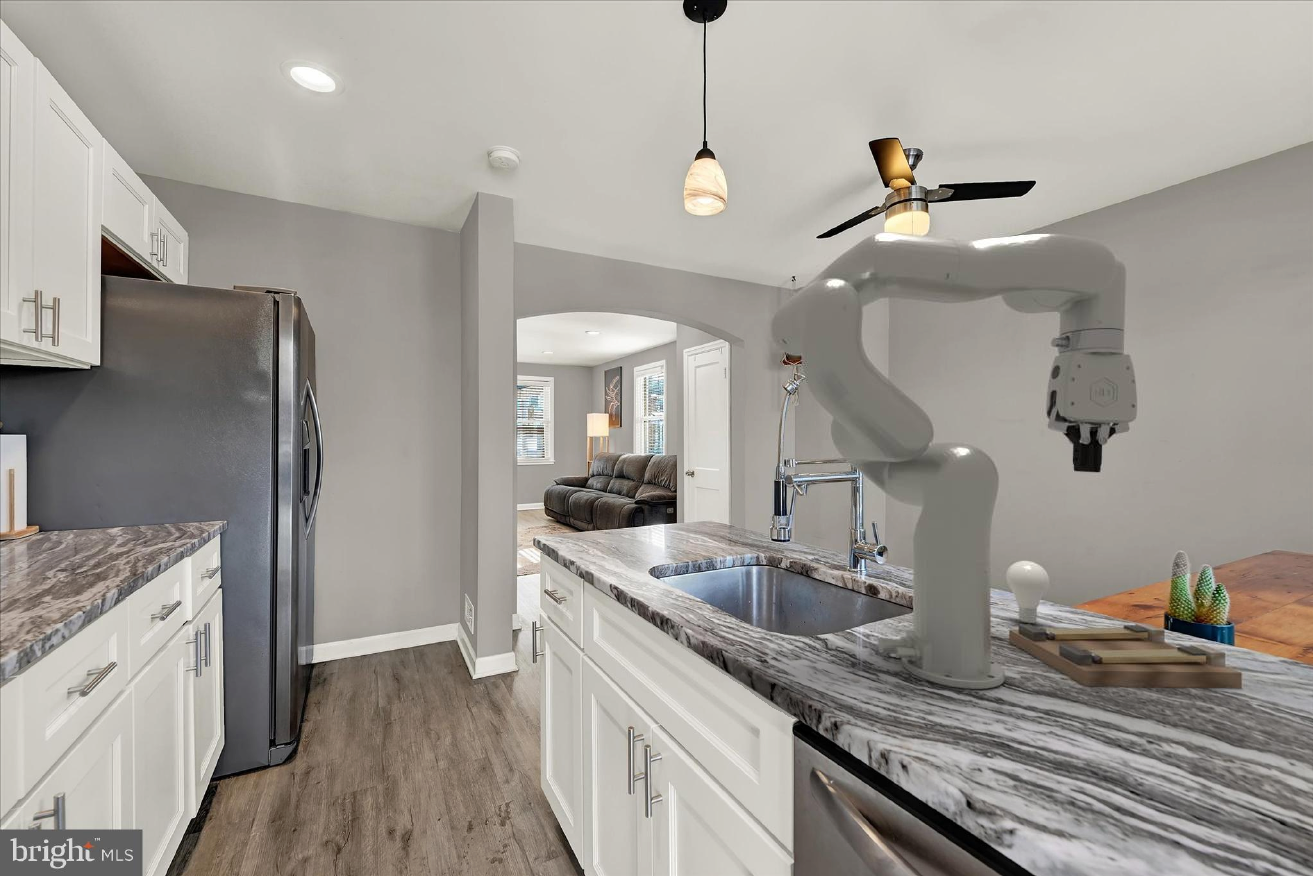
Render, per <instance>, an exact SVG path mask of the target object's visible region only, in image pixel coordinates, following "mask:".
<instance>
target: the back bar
mask: <svg viewBox="0 0 1313 876" xmlns="http://www.w3.org/2000/svg"><path fill="white" fill-rule="evenodd" d="M1038 629H1040V630H1042V631H1044V632H1046V637H1047V638H1049V639H1051V640H1053V639H1055V640H1063V639H1113V638H1148V630H1145V629H1142V628H1140V627H1137V626H1135V624H1132V625H1129V624H1127V625H1125V624H1124V625H1123V627H1085V628H1084V627H1081V628H1078V627H1077V628H1043V627H1039V628H1038Z"/></svg>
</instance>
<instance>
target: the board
mask: <svg viewBox="0 0 1313 876" xmlns="http://www.w3.org/2000/svg"><path fill="white" fill-rule="evenodd" d="M1134 625H1135V626H1137V627H1140V628H1142V629H1145V630H1148V638H1113V639H1063V640H1055V639H1053V640H1051V639H1049V638H1047V637H1046V632H1044V631H1042V630H1040V629H1039V628H1038V627H1037V626H1034V625H1033V624H1025V623H1023V624H1022V623H1021V624H1018V626H1017V627H1018V629H1009V630H1008V638H1009V639H1008V640H1009V641H1008V643H1010V644H1011V645H1013V646H1015V645H1016V646H1017V647H1016V646H1015V647H1016V648H1018V647H1020V648H1021V649H1020V648H1019V649H1020V650H1022V649H1023V650H1024V652H1025V651H1026V652H1025V653H1026V654H1028V655H1030V654H1031V655H1030V656H1032V655H1033V656H1032V657H1034V656H1035V657H1036V658H1035V657H1034V658H1035V659H1037V658H1038V659H1037V660H1039V661H1040V662H1042V661H1043V662H1042V663H1045V664H1046V665H1048V666H1050V667H1051V668H1053V669H1055V670H1057V671H1058V672H1060V673H1062V674H1063V675H1065V676H1066V677H1068V678H1070V679H1072V680H1073V681H1076V682H1077V683H1079V684H1080V685H1082V686H1084V687H1111V686H1112V687H1115V688H1116V687H1121V688H1123V687H1124V688H1126V687H1127V688H1128V687H1129V688H1132V687H1133V688H1136V687H1137V688H1194V689H1195V688H1196V689H1197V688H1198V689H1200V688H1204V689H1206V688H1207V689H1210V688H1211V689H1214V688H1215V689H1217V688H1218V689H1242V688H1243V682H1242V681H1243V680H1242V679H1243V676H1242V675H1243V674H1242V673H1243V672H1241V671H1238V670H1236V669H1234V668H1231V667H1229V666H1226V652H1225V651H1224V652H1223V651H1221V650H1219V649H1215V648H1213V647H1210V646H1208V645H1205V644H1189V647H1191V648H1193V649H1196V650H1199V651H1201V652H1204V653H1206V662H1150V663H1096V662H1094V661H1092V655H1091V654H1089V653H1087V652H1085V651H1083V649H1086V650H1088V651H1097V650H1157V649H1177V647H1178V646H1175V645H1173V644H1171V643H1169V642H1166V640H1165V637H1166V636H1165V630H1164V629H1162V628H1161V627H1157V626H1154V625H1152V624H1150V623H1135V624H1134ZM1023 650H1022V651H1023Z"/></svg>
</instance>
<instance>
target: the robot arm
mask: <svg viewBox="0 0 1313 876" xmlns="http://www.w3.org/2000/svg"><path fill="white" fill-rule="evenodd" d="M1125 266H1126V265H1125V263H1123V261H1121V260H1119V259H1116V256H1115V255H1114V253H1113V252H1112V251H1111V249H1110V248H1109V247H1108V246H1106V245H1105V244H1104V243H1102V242H1100V241H1098V240H1095V239H1092V238H1088V237H1083V236H1075V235H1067V234H1060V233H1059V234H1057V233H1038V234H1037V233H1036V234H1025V235H1023V234H1022V235H1015V236H1005V237H993V238H992V237H991V238H983V239H975V240H974V239H973V240H960V239H953V238H952V239H951V238H942V237H936V236H935V237H933V236H925V235H918V234H912V233H910V234H909V233H901V232H894V231H891V232H889V231H888V232H887V231H886V232H885V231H883V232H878V233H875V234H872V235H869V236H867V237H865V238H864V239H863V240H861V241H860V242H858V243H857V244H855V245H854V246H853V247H851V248H849V249H848V250H846V251H845V252H844V253H842V254H841V255H840V256H838V257H837V258H836V259H835V260H834V261H832V262H831V263H830V264H829V265H828V266H826V267H825V268H824V269H823V270H822V271H821V272H820V273H819V274H818V275H817V276H815V277H814V278H813V279H812V280H811V281H809V282H808V283H807V284H806V285H804V286H803V287H802V288H801V289H799V290H798V291H797V292H796V293H795V294H793V296H791V297H790V298H789V299H787V300H786V301H785V302H784V303H782V304H781V305H780V306H779V307H778V308H777V309H776V311H775V313H774V315H773V316H772V317H773V318H772V320H771V328H770V329H771V331H770V332H771V337H772V339H773V341H774V343H775V345H776V346H777V347H778V348H779V349H780V350H781V351H783V352H784V353H786V354H788V355H790V356H800V357H801V365H802V371H803V376H804V379H805V383H806V385H807V388H808V390H809V392H810V393H811V395H812V396H813V398H814V399H815V400H816V402H818V404H819V405H820V406H822V408H823V409H824V410H825V411H827V412H828V413H829V414H830V416H832V421H831V424H830V436H831V440H832V442H833V444H834V447H835V448H836V450H837V451H838V453H839V454H840V455H841V456H842V458H844V459H845V460H846V461H847V462H848V463H849V464H850V465H851V466H852V467H854V468H855V469H856V470H857V471H858V472H860V473H861V474H862V475H863V476H865V478H867V480H869V481H870V482H872V483H873V484H874V486H876V487H877V488H878V489H880V490H881V491H882V492H884V493H885V494H886V495H887V496H889V497H891V498H892V499H894V500H895V501H897V502H900V503H902V504H906V505H910V506H916V507H922V508H921V510H920V514H919V516H918V519H917V522H916V524H915V527H914V532H913V538H912V580H913V581H912V582H913V583H912V589H913V592H912V594H913V595H912V602H913V603H912V605H913V607H912V608H913V609H912V611H913V613H912V614H913V618H912V620H913V621H912V623H913V625H912V626H913V627H912V629H913V630H912V629H911V630H906V631H905V636H900V638H899V639H898V638H897V639H893V638H883V637H882V638H879V639H878V641H877V645H878V650H879V652H880V653H881V654H883V653H884V654H885V653H886V654H887V653H888V654H891V653H892V654H894V656H895V658H897V659H900V658H901V664H902V666H903V667H904V669H906V670H907V671H908V672H910V673H912V674H913V675H915V676H916V677H920V678H921V679H924V680H926V681H929V682H932V683H936V684H939V685H943V686H948V687H954V688H960V689H967V690H968V689H971V690H973V689H974V690H984V689H990V688H996V687H998V686H1000V685H1002V684H1003V683H1004V681H1005V670H1004V668H1003V667H1002V666H1001V665H1000V664H999V663H998V662H997V661H994V660H993V659H992V658H991V656H992V650H991V649H992V648H991V646H992V642H991V641H992V639H991V638H992V637H991V633H992V632H991V631H992V630H991V628H992V627H991V625H992V624H991V622H992V621H991V620H992V618H991V616H992V614H991V533H992V522H993V521H992V520H993V515H994V511H995V505H996V500H997V498H998V492H999V484H1000V479H999V477H1000V476H999V472H998V468H997V466H996V464H995V462H994V460H993V459H992V458H991V457H990V456H989V455H988V454H987V453H986V452H984V450H981V449H980V448H978V447H975V446H973V445H970V444H966V443H958V442H933V440H934V435H935V434H934V426H933V422H932V420H931V419H930V416H929V415H928V414H927V413H926V411H924V409H922V407H920V406H919V405H918V404H917V403H916V402H915V401H914V400H913V399H912V398H910V397H909V396H908V395H907V394H906V393H904V391H902V389H900V388H899V387H898V386H896V384H894V383H893V382H892V381H891V380H890V379H888V378H887V376H885V375H884V374H883V373H882V372H881V371H880V370H879V369H878V368H877V367H876V365H874V364H873V363H872V362H871V360H870V359H869V358H868V355H867V354H866V351H865V347H864V344H863V336H862V335H863V333H862V332H863V330H862V326H863V316H864V314H863V313H864V312H863V310H864V309H863V308H864V307H866V306H867V305H869V304H871V303H874V302H876V301H878V300H880V299H887V298H888V299H889V298H890V299H891V298H893V299H901V300H912V301H922V302H931V303H932V302H933V303H941V304H961V303H972V302H977V301H981V300H986V299H990V298H995V297H1000V296H1001V299H1002V301H1003V303H1004V304H1005V305H1006V306H1007V307H1009V308H1010V309H1011V310H1013V311H1015V312H1019V313H1022V314H1040V313H1055V312H1056V313H1059V335H1058V337H1054V338H1052V340H1051V342H1050V344H1051V347H1053V348H1057V353H1058V355H1056V356H1054V359H1053V361H1052V365H1051V369H1050V372H1049V373H1050V374H1049V378H1048V384H1047V393H1046V403H1045V404H1046V406H1045V407H1046V408H1045V409H1046V411H1045V412H1046V416H1047V417H1046V418H1047V419H1048V423H1047V428H1048V429H1049V430H1051V431H1055V432H1058V433H1062V434H1063V435H1064V436H1065V437H1066V438H1067V439H1068V442H1069V444H1071V445H1072V465H1073V470H1074V472H1078V473H1079V472H1080V473H1081V472H1082V473H1101V469H1102V464H1103V463H1102V462H1103V446H1104V445H1107V443H1108V441H1109V440H1110V438H1112V437H1113V435H1117V434H1118V435H1119V434H1122V433H1127V432H1130V431H1129V430H1130V424H1129V423H1132V422H1134V421H1135V420H1136V419H1137V415H1138V394H1137V384H1136V383H1137V382H1136V375H1135V370H1134V364H1133V361H1132V359H1131V358H1132V357H1131V355H1130V354H1126V353H1124V350H1125V348H1124V347H1125V321H1126V320H1125V318H1126V317H1125V314H1126V286H1127V285H1126V282H1127V281H1126V280H1127V271H1126V269H1127V268H1126V267H1125Z"/></svg>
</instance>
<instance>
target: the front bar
mask: <svg viewBox="0 0 1313 876" xmlns="http://www.w3.org/2000/svg"><path fill="white" fill-rule="evenodd" d="M1176 647H1177V649H1157V650H1097V651H1088V650H1086V649H1083V651H1085V652H1087V653H1089V654H1091V655H1092V661H1094V662H1096V663H1150V662H1206V653H1204V652H1201V651H1199V650H1196V649H1193V648H1191V647H1190V646H1176Z"/></svg>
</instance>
